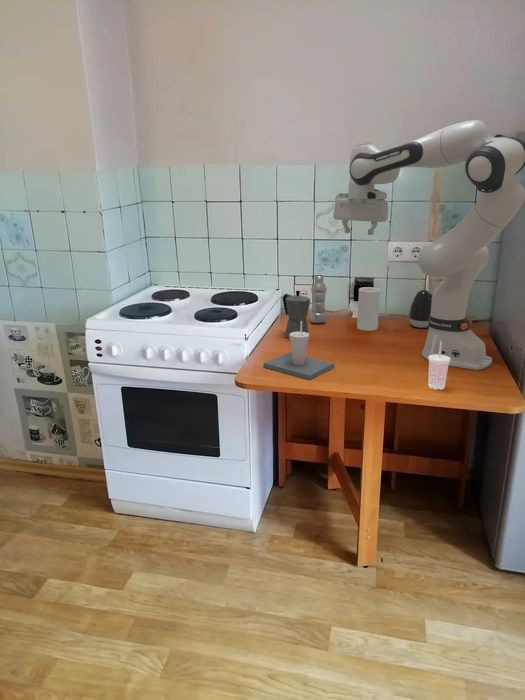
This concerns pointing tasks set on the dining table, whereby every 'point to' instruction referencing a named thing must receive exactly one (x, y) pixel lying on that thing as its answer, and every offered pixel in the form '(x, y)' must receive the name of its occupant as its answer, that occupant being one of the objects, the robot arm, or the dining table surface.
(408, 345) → the dining table surface
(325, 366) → the slate board
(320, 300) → the plastic bottle
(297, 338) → the smoothie
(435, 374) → the beverage cup
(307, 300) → the coffeepot
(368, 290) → the cup
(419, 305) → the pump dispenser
